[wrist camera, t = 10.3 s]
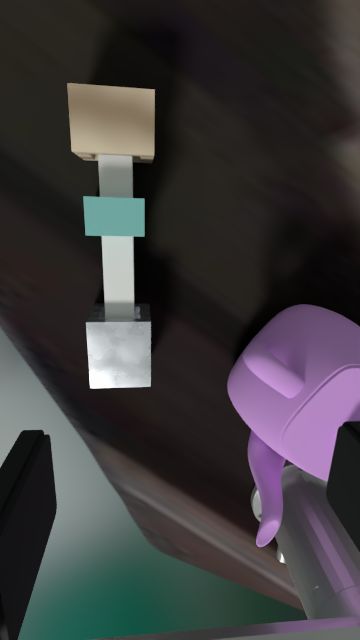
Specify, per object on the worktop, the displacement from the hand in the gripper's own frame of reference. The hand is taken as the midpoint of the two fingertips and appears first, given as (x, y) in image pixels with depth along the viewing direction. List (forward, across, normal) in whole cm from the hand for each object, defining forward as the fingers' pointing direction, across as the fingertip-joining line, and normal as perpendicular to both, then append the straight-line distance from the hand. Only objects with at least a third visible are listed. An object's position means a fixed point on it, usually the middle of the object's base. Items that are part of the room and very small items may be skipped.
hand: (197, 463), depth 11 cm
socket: (+27, +4, -15) cm, 31 cm away
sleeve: (+28, +4, +5) cm, 29 cm away
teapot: (+29, -16, +11) cm, 35 cm away
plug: (+27, +4, -6) cm, 28 cm away
